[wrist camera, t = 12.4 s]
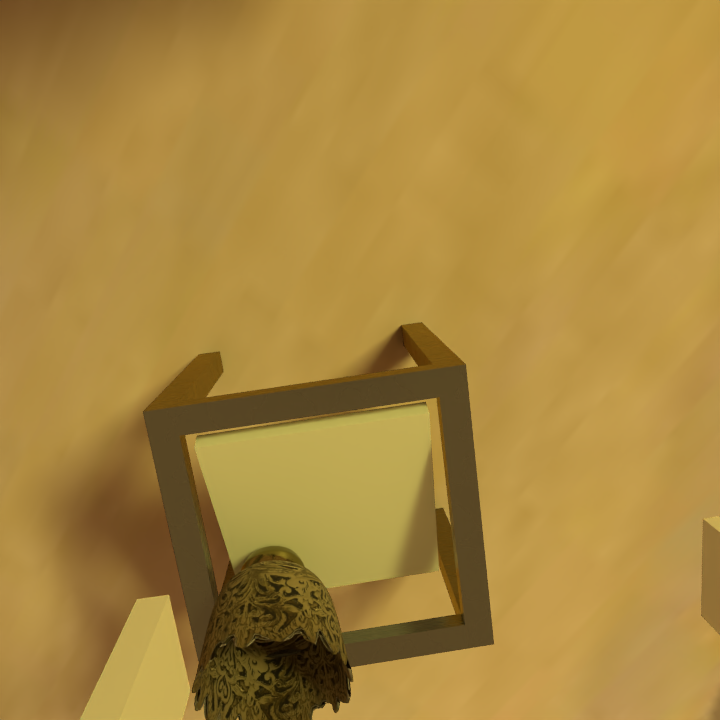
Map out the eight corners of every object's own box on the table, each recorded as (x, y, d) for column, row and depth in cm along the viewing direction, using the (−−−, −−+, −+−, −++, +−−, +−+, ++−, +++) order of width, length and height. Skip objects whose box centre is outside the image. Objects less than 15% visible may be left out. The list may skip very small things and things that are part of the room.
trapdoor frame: (198, 354, 44) (142, 411, 30) (421, 322, 44) (465, 364, 31) (238, 557, 47) (205, 690, 34) (445, 525, 48) (493, 644, 34)
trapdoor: (196, 435, 32) (194, 448, 31) (425, 401, 32) (429, 413, 31) (244, 587, 38) (243, 601, 37) (435, 558, 38) (438, 570, 37)
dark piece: (260, 624, 38) (258, 759, 31) (179, 559, 34) (156, 695, 27) (361, 567, 37) (382, 695, 30) (286, 493, 33) (291, 618, 26)
